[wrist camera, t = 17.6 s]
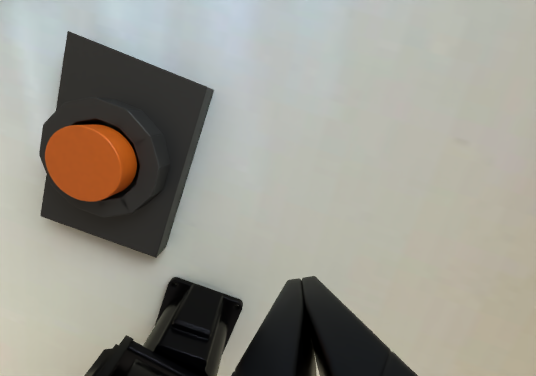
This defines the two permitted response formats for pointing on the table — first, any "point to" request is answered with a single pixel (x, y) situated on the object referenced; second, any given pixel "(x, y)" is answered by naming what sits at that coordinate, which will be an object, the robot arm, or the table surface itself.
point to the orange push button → (90, 161)
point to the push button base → (138, 135)
